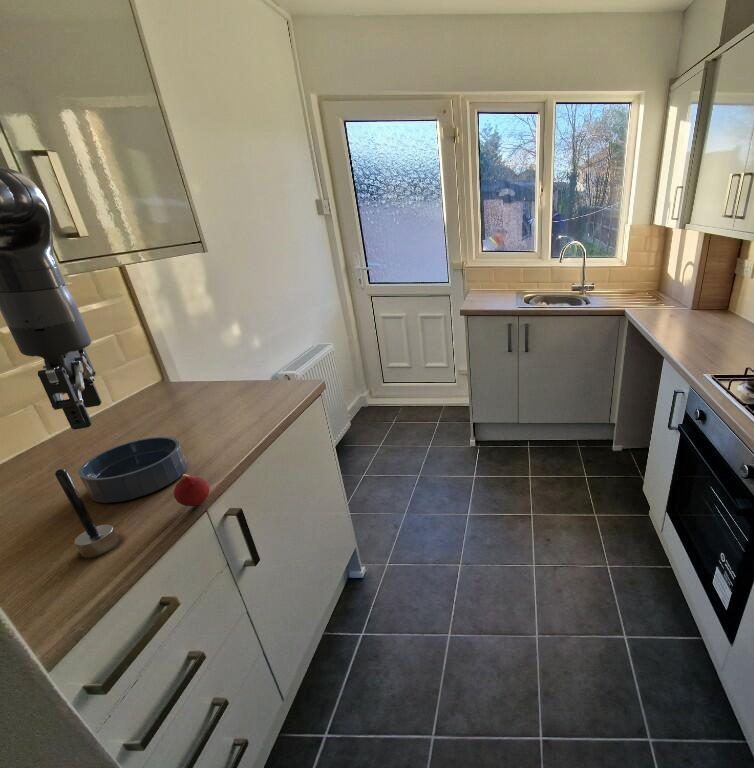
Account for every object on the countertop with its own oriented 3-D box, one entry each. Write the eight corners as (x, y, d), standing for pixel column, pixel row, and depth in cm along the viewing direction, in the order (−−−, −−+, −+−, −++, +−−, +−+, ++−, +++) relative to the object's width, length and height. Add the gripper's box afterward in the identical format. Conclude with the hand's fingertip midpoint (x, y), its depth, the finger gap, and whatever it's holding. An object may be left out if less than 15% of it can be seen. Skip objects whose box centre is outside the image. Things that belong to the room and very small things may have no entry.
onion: (215, 493, 91) (204, 463, 88) (212, 508, 86) (200, 477, 83) (182, 502, 88) (170, 471, 85) (178, 518, 84) (164, 486, 81)
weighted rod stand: (79, 562, 74) (33, 482, 67) (83, 544, 78) (41, 468, 71) (117, 548, 77) (77, 471, 70) (120, 532, 80) (82, 457, 74)
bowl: (85, 516, 85) (71, 490, 82) (97, 476, 98) (85, 452, 95) (189, 484, 94) (179, 460, 92) (187, 451, 107) (179, 429, 105)
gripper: (23, 311, 64) (66, 404, 70) (-13, 335, 53) (42, 442, 60) (89, 305, 68) (124, 395, 74) (68, 327, 57) (112, 429, 64)
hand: (88, 416), depth 67 cm, fingers open, 8 cm apart
